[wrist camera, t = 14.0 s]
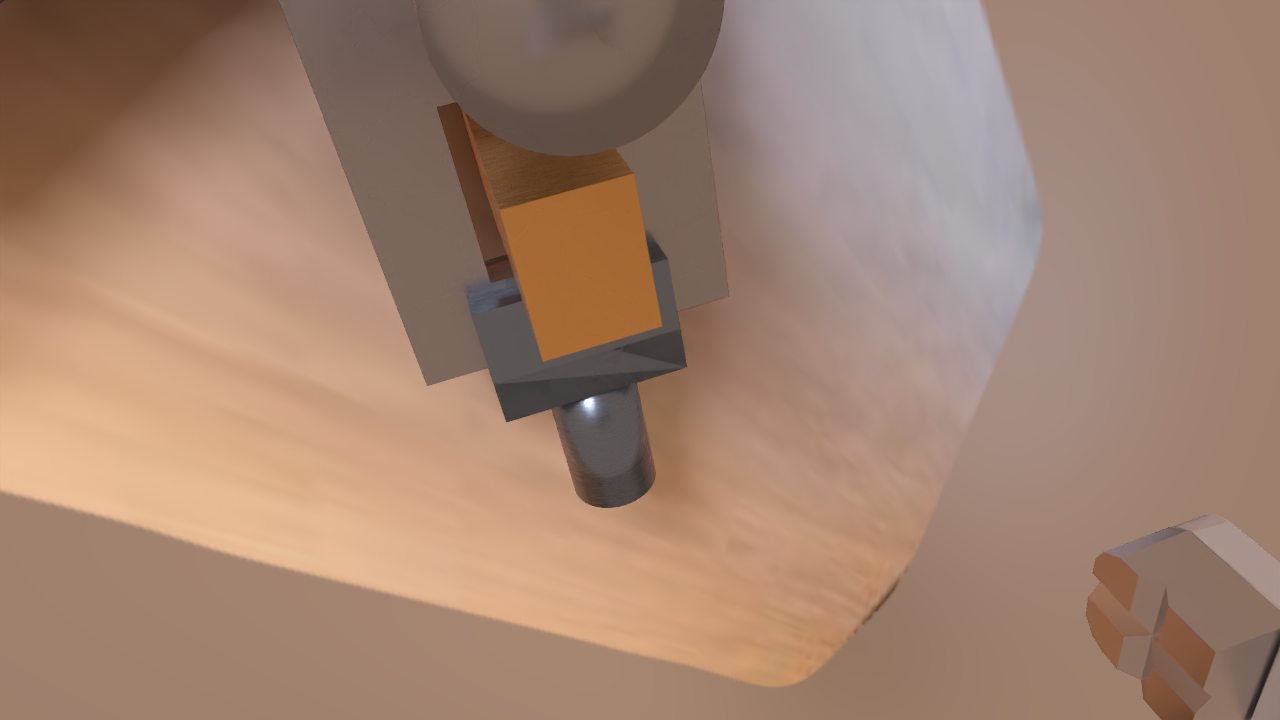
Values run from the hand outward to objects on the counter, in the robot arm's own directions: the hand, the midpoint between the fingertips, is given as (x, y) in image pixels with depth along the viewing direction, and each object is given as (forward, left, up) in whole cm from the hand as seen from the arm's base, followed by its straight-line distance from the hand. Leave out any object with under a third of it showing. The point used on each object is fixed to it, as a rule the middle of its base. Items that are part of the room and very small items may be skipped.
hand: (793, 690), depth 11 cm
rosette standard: (+1, 0, -24) cm, 24 cm away
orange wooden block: (0, 0, -24) cm, 24 cm away
